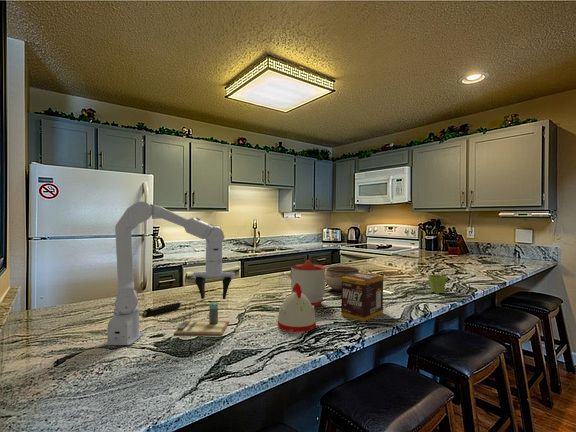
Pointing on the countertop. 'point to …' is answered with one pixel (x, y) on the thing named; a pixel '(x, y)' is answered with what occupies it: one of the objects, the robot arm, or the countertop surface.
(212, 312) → the marker
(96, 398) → the countertop surface
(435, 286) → the plant pot
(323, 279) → the citrus juicer
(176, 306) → the electric trimmer
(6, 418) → the countertop surface
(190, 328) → the clipboard
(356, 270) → the cooking pot
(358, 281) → the supplement box
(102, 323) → the countertop surface
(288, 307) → the kitchen timer
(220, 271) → the robot arm
